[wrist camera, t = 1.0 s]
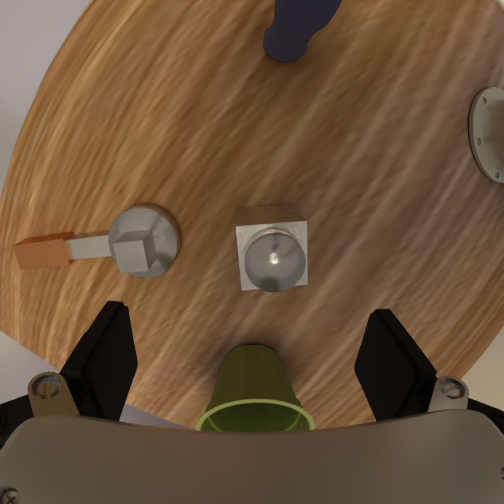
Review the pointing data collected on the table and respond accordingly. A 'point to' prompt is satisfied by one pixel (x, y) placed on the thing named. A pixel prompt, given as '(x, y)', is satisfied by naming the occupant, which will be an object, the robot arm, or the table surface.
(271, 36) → the rubber mallet
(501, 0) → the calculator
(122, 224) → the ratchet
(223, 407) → the plant pot
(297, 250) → the socket
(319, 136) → the table surface
